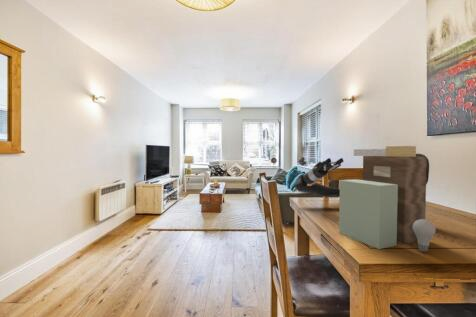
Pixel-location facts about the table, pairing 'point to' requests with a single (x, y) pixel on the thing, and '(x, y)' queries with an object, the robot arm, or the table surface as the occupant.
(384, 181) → the parts stand
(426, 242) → the lightbulb
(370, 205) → the sage green carton
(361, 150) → the shaft
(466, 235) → the table surface
